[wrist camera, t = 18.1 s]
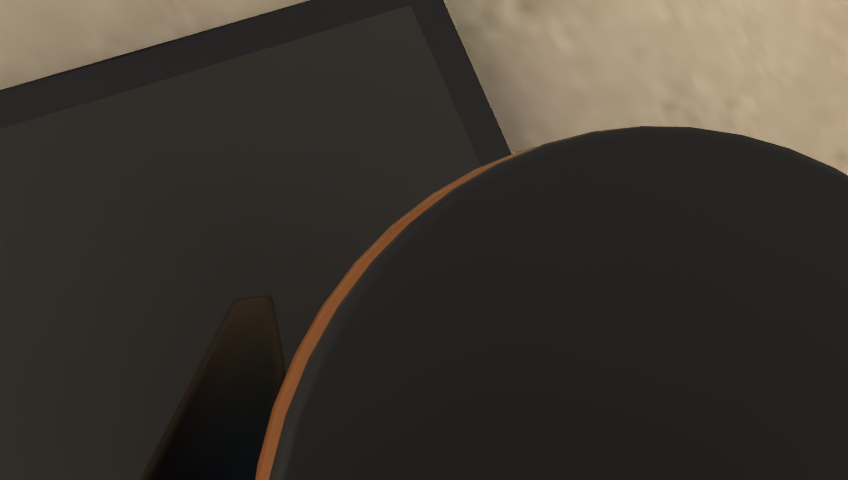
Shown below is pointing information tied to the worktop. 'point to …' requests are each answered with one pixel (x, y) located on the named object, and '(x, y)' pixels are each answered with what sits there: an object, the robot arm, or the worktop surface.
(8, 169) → the tablet
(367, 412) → the black and orange cylinder
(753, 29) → the worktop surface
